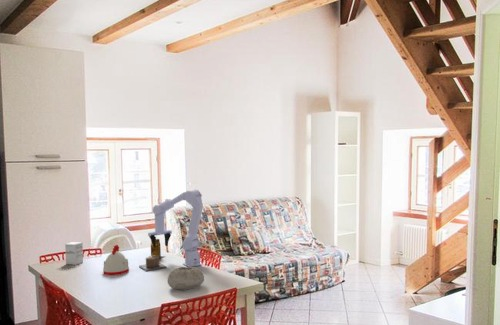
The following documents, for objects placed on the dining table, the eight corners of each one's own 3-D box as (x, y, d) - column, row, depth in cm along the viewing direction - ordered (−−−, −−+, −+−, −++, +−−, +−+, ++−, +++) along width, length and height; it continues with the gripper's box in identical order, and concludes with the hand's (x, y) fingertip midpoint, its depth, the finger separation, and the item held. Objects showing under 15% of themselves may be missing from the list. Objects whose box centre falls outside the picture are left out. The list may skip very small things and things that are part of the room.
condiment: (148, 259, 282) (147, 240, 281) (155, 256, 290) (155, 237, 289) (158, 259, 279) (157, 240, 279) (165, 256, 287) (164, 238, 287)
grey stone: (187, 280, 231) (187, 261, 230) (212, 286, 219) (211, 266, 219) (160, 289, 217) (159, 269, 217) (185, 296, 206) (184, 274, 205)
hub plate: (166, 267, 258) (166, 261, 258) (146, 271, 252) (146, 264, 251) (158, 263, 268) (158, 257, 268) (139, 267, 262) (138, 260, 262)
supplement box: (65, 264, 273) (64, 243, 273) (73, 261, 280) (72, 241, 280) (75, 265, 271) (74, 244, 271) (83, 262, 278) (82, 242, 278)
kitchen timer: (132, 268, 259) (131, 243, 258) (123, 275, 245) (122, 248, 245) (109, 268, 260) (108, 243, 260) (99, 275, 246) (98, 248, 246)
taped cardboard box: (154, 267, 257) (153, 257, 256) (146, 266, 258) (145, 257, 258) (159, 264, 262) (158, 255, 261) (151, 264, 263) (150, 254, 263)
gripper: (168, 222, 280) (169, 243, 280) (146, 224, 272) (146, 247, 272) (172, 223, 274) (173, 245, 274) (150, 226, 266) (150, 249, 266)
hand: (160, 246), depth 273 cm, fingers open, 7 cm apart
